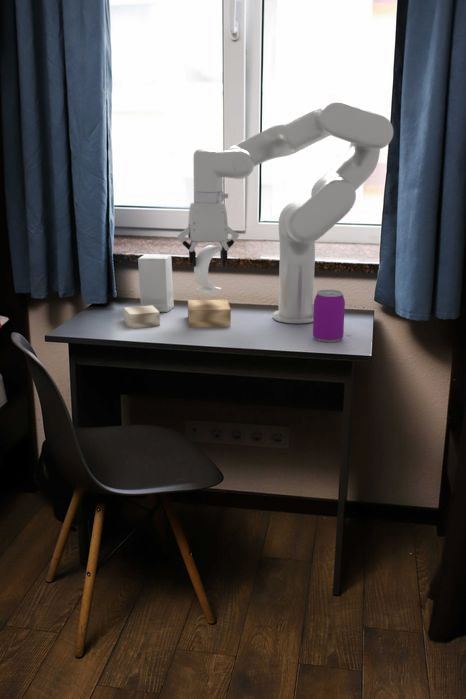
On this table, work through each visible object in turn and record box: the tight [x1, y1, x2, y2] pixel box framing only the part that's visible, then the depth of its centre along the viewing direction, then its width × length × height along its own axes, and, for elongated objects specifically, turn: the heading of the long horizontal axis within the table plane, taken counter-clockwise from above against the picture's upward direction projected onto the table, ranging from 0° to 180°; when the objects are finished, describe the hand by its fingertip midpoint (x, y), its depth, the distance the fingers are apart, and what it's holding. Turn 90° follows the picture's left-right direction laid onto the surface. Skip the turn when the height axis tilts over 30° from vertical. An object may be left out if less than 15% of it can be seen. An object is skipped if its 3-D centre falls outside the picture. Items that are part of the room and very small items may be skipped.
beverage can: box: [312, 289, 346, 343], centre depth 200 cm, size 8×8×12 cm
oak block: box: [187, 299, 232, 328], centre depth 217 cm, size 11×11×5 cm
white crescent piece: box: [193, 244, 223, 295], centre depth 213 cm, size 5×6×12 cm
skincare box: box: [137, 253, 175, 313], centre depth 228 cm, size 8×7×16 cm
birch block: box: [123, 305, 161, 329], centre depth 215 cm, size 8×8×4 cm
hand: (208, 264), depth 213 cm, fingers closed on white crescent piece, 7 cm apart
